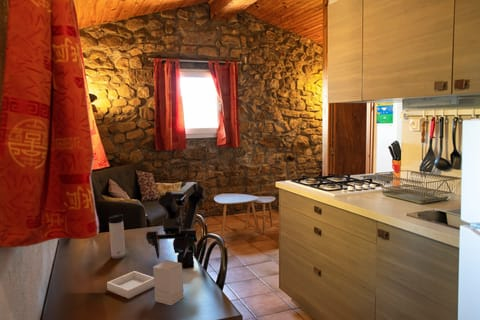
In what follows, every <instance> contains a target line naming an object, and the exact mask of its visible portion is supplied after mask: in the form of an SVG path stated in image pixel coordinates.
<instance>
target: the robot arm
mask: <svg viewBox="0 0 480 320" xmlns="http://www.w3.org/2000/svg"><path fill="white" fill-rule="evenodd" d="M206 199H207V192H206V190H205V188H204V187H203V186H201V185H199V184H198V182H196V181H192V182H191V181H187V182H186V183H185V185H183V186H182V187H181V188H180V189H178V190H174V191H165V194H163V195H161V196H160V198H159V199H158V204H159V205H160V208H161V209H162V211H163V212H164V214H166V218H164V219H162V220H163V221H162V229H163V232H164V233H159V232H158V230H148V231H147V232H146V233H145V239H146V241H147V243H148V245H151V246H153V247H154V249H155V254H156V258H157V259H159V258H160V247H161V245H160V240H172V239H173V241H172V246H173V250H174V251H173V252H174V254H177V256H176V259H177V260H176V262H179V263H182V269H192V268H195V260H194V254H196V253H197V252H198V251H197V250H198V246H197V242H198V241H199V240H198V232H197V229H195V228H194V227H195V223H196V220H197V216H198V212H199V208H200V207H201V206H202V205H203V204H204V203H205V200H206ZM187 204H188V206H187V210H186V213H185V217H184V220H183V217H182V216H183V215H182V208H181V207H185V206H186V205H187Z"/></svg>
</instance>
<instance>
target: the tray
mask: <svg viewBox="0 0 480 320" xmlns="http://www.w3.org/2000/svg"><path fill="white" fill-rule="evenodd" d="M152 288H154V276H151V275H148V274H144V273H142V272H139V271H136V270H134V271H131V272H129V273H126V274H124V275H121V276H119V277H117V278H114V279H112V280H109V281H107V282H106V289H107V291H109V292H111V293H114V294H115V295H119V296H121V297H123V298H126V299H131V298H133V297H134V296H137V295H139V294H142V293H143V292H145V291H148V290H149V289H152Z"/></svg>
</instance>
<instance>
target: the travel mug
mask: <svg viewBox="0 0 480 320" xmlns="http://www.w3.org/2000/svg"><path fill="white" fill-rule="evenodd" d="M123 217H124V214H120V213H119V214H115V215H111V216H109V217H108V226H109V227H108V228H109V229H108V230H109V241H110V253H111V259H114V260H115V259H116V260H117V259H123V258H124V257H126V245H125V242H126V241H125V232H124V231H125V230H124V229H125V227H124V218H123Z"/></svg>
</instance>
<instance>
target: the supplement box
mask: <svg viewBox="0 0 480 320" xmlns="http://www.w3.org/2000/svg"><path fill="white" fill-rule="evenodd" d="M152 269H153V271H152V272H153V277H154V287H153V288H154V298H155V302H157V303H161V304H163V305H168V306H172V305H174V304H176V303H177V302H179V301H181V300H182V299H183V298H184V297H185V293H184V289H185V288H184V278H183V276H184V275H183V268H182V263H179V262H177V261H174V260H167V259H165V260H164V261H162V262H160V263H158V264H156V265H154V266H152Z"/></svg>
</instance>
